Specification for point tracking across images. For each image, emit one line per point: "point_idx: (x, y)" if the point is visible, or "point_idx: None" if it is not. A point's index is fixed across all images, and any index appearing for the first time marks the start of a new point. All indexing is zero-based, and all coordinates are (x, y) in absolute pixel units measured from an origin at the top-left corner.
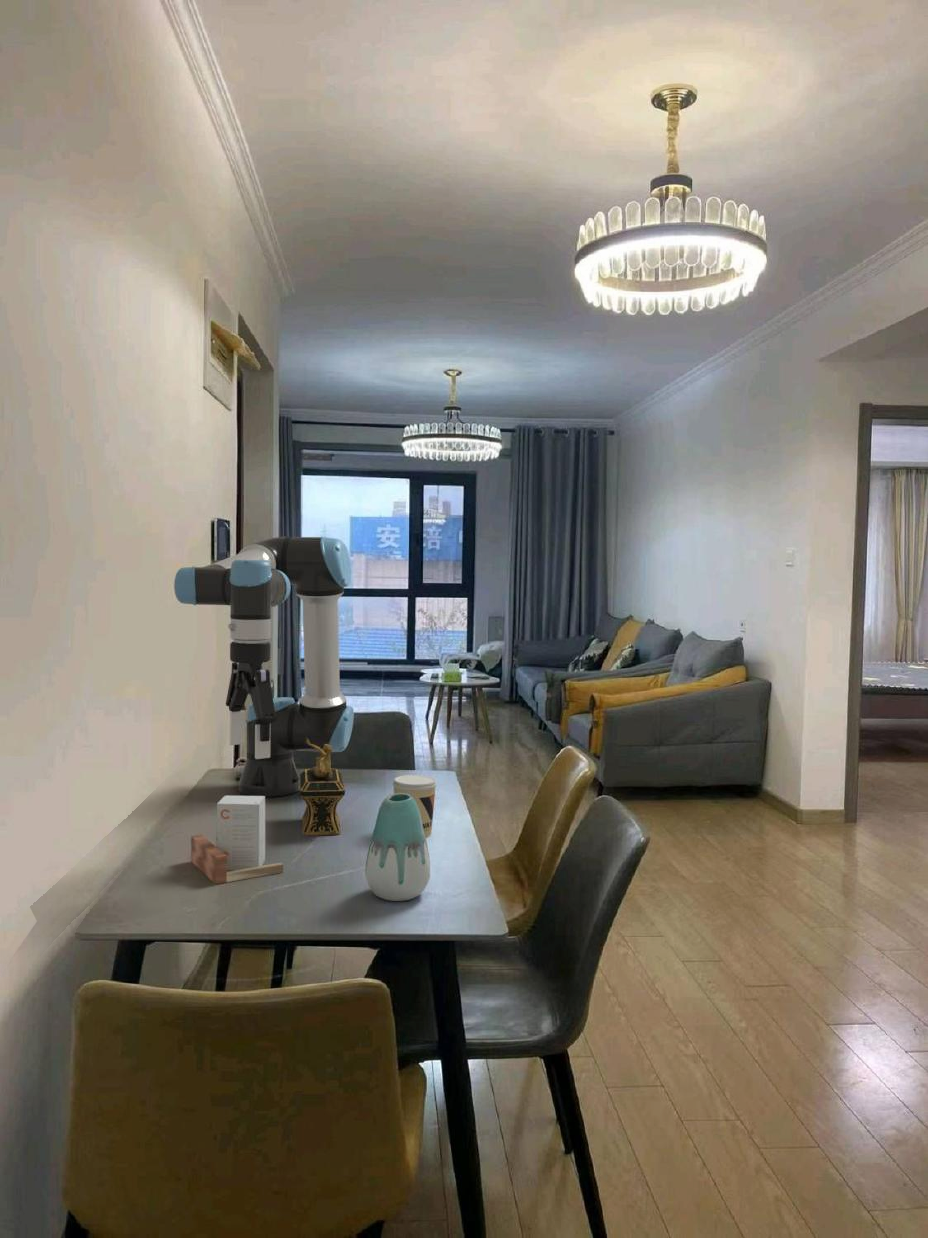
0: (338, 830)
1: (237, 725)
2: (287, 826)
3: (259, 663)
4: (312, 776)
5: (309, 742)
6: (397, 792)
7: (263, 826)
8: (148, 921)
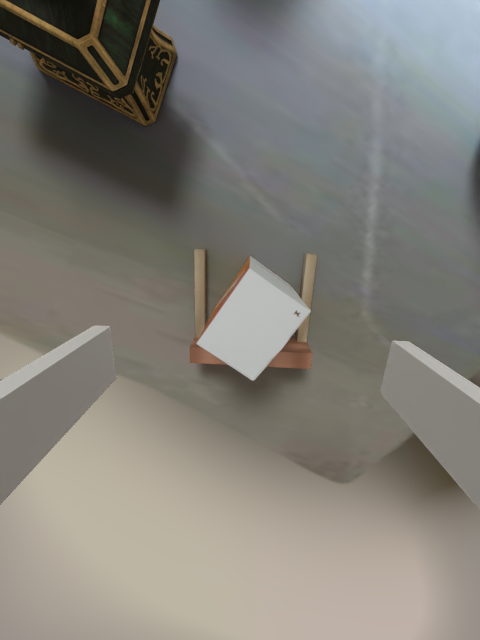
0: (169, 41)
1: (60, 404)
2: (78, 127)
3: None
4: None
5: None
6: None
7: (268, 273)
8: (364, 444)
